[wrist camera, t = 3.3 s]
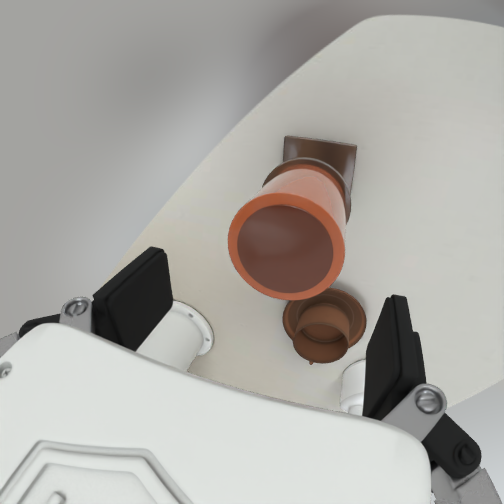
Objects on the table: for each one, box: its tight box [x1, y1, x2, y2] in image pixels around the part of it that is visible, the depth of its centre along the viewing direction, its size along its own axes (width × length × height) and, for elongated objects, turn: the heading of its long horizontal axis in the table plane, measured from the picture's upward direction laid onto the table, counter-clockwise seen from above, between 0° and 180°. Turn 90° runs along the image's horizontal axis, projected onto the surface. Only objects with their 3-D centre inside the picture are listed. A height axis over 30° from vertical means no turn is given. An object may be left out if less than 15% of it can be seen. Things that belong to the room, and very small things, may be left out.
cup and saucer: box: [283, 288, 366, 365], centre depth 38 cm, size 12×12×6 cm
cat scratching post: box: [262, 136, 357, 224], centre depth 27 cm, size 8×8×12 cm
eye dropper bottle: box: [340, 360, 366, 416], centre depth 39 cm, size 4×6×12 cm
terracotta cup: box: [228, 164, 346, 300], centre depth 19 cm, size 6×6×8 cm
